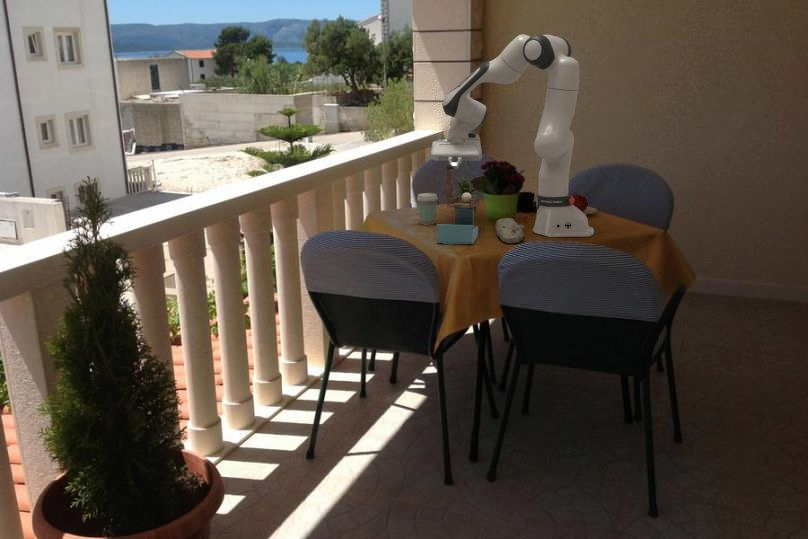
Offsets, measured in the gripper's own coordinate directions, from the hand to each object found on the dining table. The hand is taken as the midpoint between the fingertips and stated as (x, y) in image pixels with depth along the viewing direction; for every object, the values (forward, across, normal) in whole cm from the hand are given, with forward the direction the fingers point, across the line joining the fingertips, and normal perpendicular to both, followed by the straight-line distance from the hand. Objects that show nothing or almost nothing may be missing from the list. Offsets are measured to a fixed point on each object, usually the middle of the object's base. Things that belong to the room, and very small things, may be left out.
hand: (454, 167), depth 286 cm
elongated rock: (+24, +23, +9) cm, 35 cm away
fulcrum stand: (+24, +6, +9) cm, 26 cm away
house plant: (-3, -2, +36) cm, 36 cm away
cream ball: (+11, +6, +5) cm, 13 cm away
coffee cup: (+15, -11, +18) cm, 26 cm away
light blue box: (+34, +6, -1) cm, 34 cm away
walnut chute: (+19, +4, +2) cm, 20 cm away
